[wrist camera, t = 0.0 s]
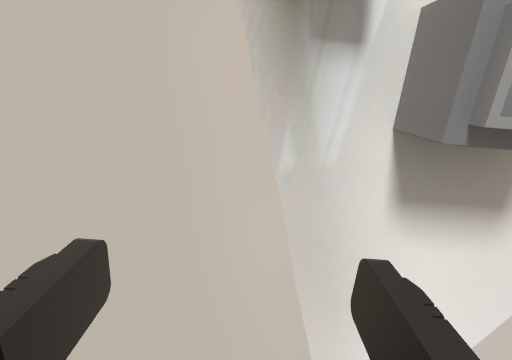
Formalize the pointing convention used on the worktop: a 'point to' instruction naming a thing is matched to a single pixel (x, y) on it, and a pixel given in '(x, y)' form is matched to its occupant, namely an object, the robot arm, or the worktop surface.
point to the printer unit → (460, 75)
